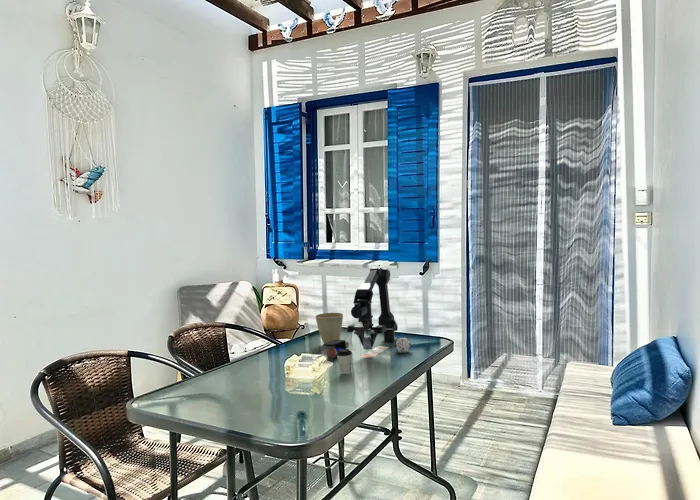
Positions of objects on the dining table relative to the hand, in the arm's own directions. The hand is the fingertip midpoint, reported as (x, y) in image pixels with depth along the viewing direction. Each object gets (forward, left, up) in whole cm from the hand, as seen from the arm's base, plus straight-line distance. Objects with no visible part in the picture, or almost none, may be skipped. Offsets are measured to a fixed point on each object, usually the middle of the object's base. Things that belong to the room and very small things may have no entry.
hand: (367, 346), depth 240 cm
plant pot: (-17, -31, -5) cm, 36 cm away
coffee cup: (+26, +2, -5) cm, 27 cm away
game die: (-10, +14, -5) cm, 18 cm away
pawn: (0, 0, -1) cm, 1 cm away
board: (-7, 0, -5) cm, 9 cm away
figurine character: (+1, -17, -5) cm, 18 cm away
